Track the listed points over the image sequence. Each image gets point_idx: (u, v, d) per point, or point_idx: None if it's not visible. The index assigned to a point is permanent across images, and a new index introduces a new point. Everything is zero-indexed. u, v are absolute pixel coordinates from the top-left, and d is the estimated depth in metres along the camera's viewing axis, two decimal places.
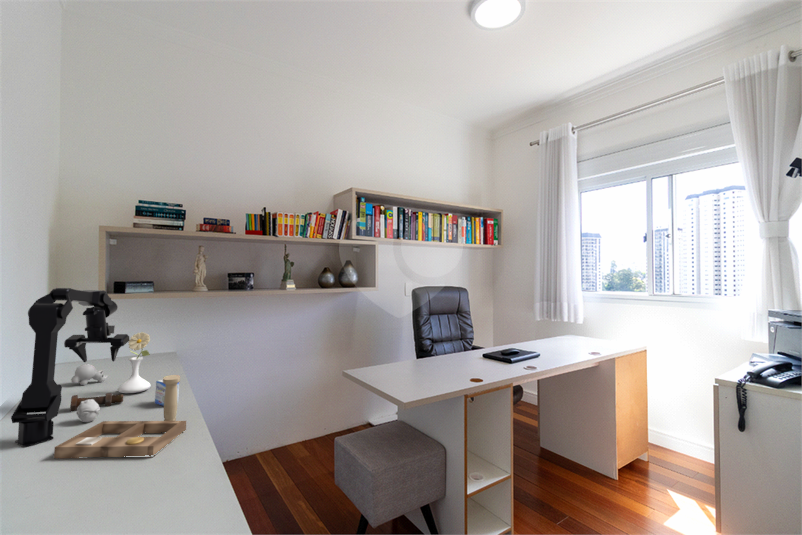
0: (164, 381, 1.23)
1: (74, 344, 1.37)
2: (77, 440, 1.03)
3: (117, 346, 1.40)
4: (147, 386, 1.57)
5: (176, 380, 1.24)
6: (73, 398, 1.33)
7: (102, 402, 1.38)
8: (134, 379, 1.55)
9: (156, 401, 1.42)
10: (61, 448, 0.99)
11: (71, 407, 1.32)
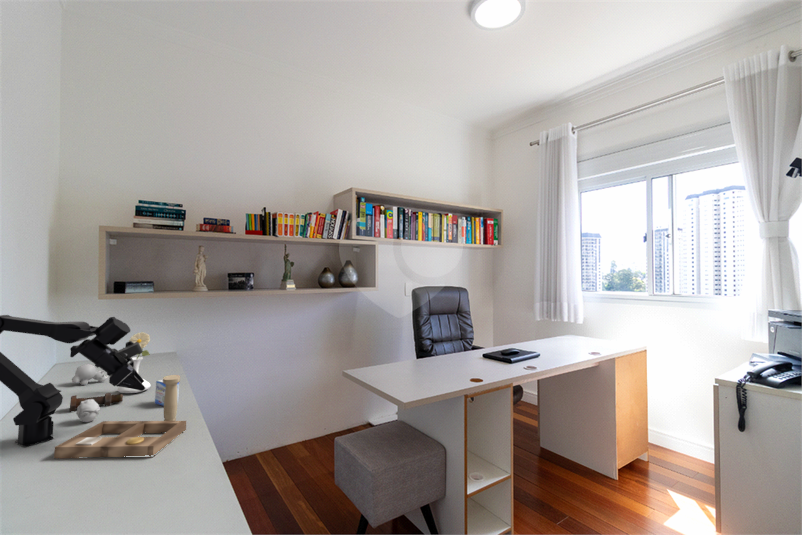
0: (164, 381, 1.23)
1: None
2: (77, 440, 1.03)
3: None
4: (147, 386, 1.57)
5: (176, 380, 1.24)
6: (72, 398, 1.33)
7: (102, 402, 1.38)
8: None
9: (156, 401, 1.42)
10: (61, 448, 0.99)
11: (71, 407, 1.32)
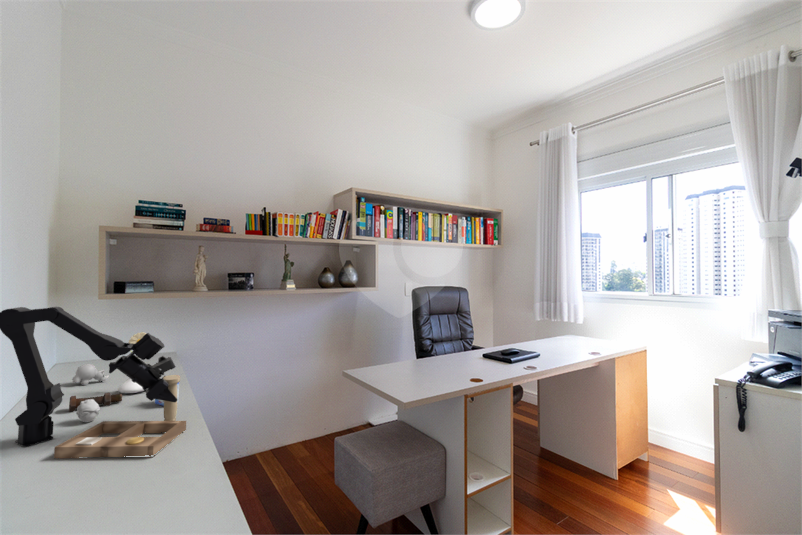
0: None
1: None
2: (77, 440, 1.03)
3: (151, 399, 1.15)
4: None
5: (176, 380, 1.24)
6: (72, 398, 1.32)
7: (101, 402, 1.38)
8: None
9: (156, 401, 1.42)
10: (61, 448, 0.99)
11: (71, 408, 1.31)
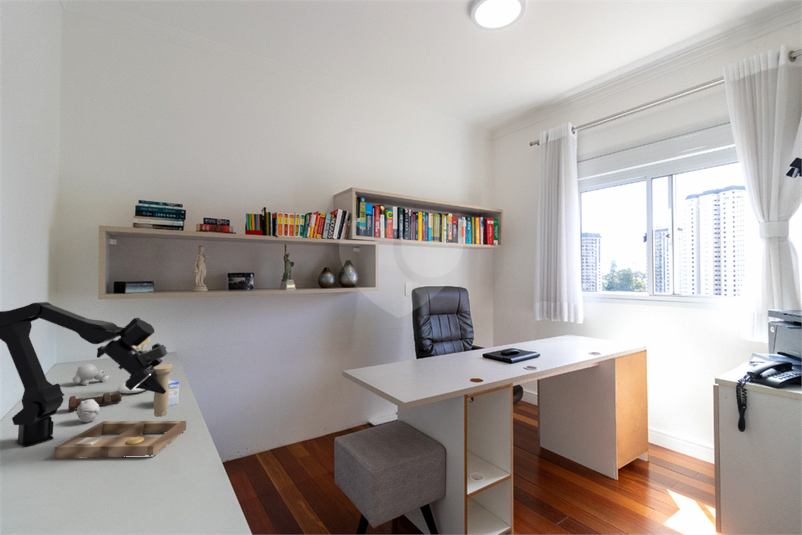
0: (153, 370, 1.14)
1: None
2: (77, 440, 1.03)
3: None
4: None
5: (164, 370, 1.14)
6: (72, 398, 1.32)
7: (101, 402, 1.38)
8: None
9: None
10: (61, 448, 0.99)
11: (70, 408, 1.31)
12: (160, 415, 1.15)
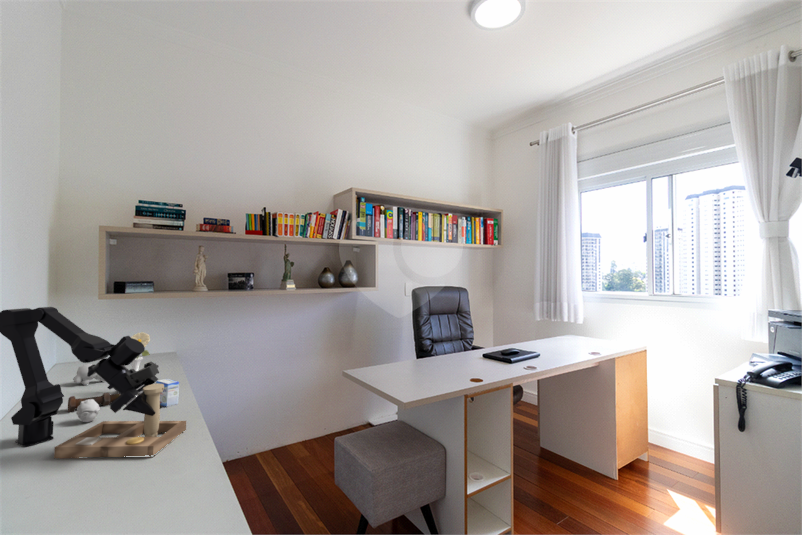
0: (143, 390, 1.10)
1: None
2: (77, 440, 1.03)
3: None
4: None
5: (153, 391, 1.09)
6: (71, 399, 1.32)
7: (101, 402, 1.38)
8: None
9: None
10: (61, 448, 0.99)
11: (70, 408, 1.31)
12: None
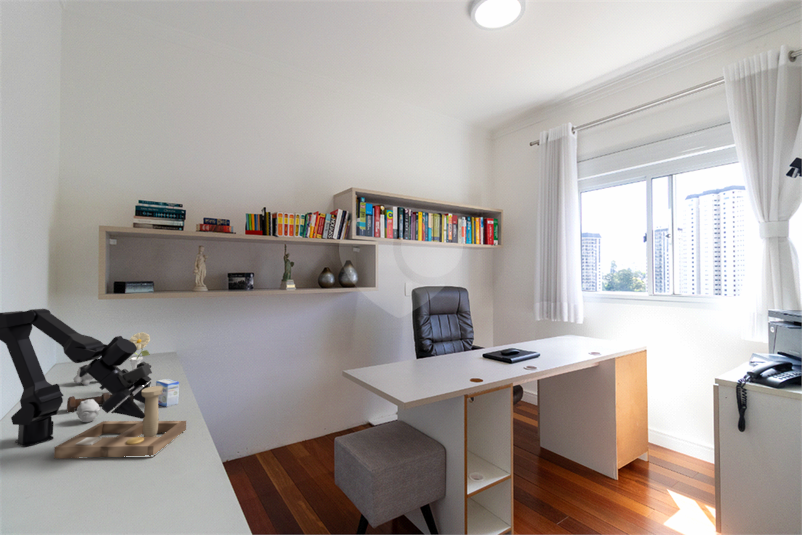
0: None
1: None
2: (77, 440, 1.03)
3: None
4: None
5: (152, 393, 1.09)
6: (71, 399, 1.32)
7: (100, 402, 1.38)
8: None
9: None
10: (61, 448, 0.99)
11: (70, 408, 1.31)
12: None
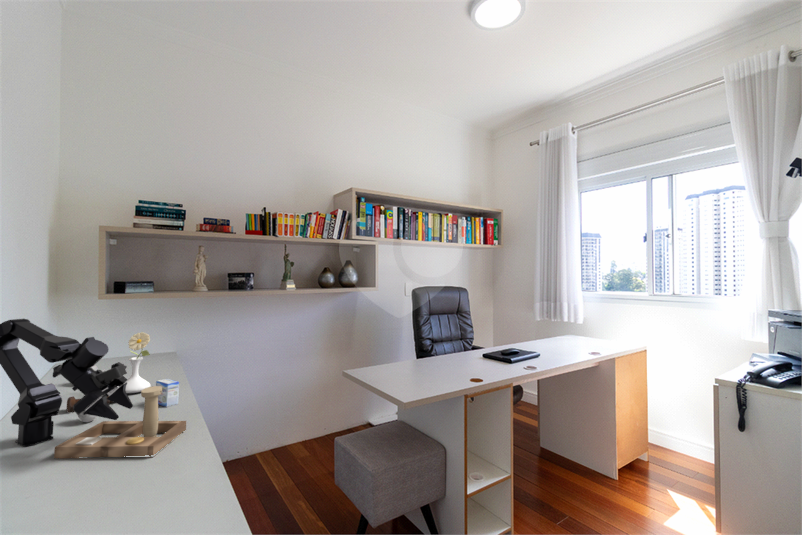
0: (141, 393, 1.10)
1: None
2: (77, 440, 1.03)
3: None
4: (147, 386, 1.57)
5: (152, 393, 1.09)
6: (71, 399, 1.32)
7: None
8: (134, 379, 1.55)
9: None
10: (61, 448, 0.99)
11: (70, 408, 1.31)
12: None
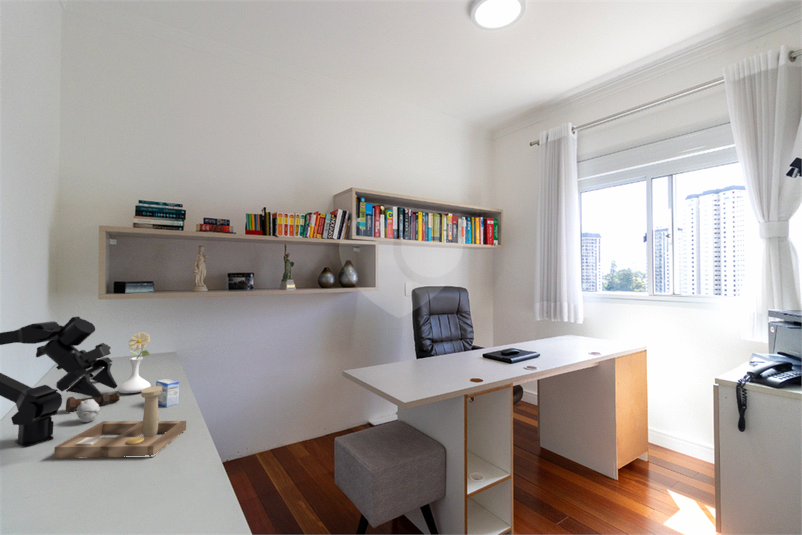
0: (141, 393, 1.10)
1: None
2: (77, 440, 1.03)
3: None
4: (147, 386, 1.57)
5: (152, 393, 1.09)
6: (71, 399, 1.32)
7: (100, 402, 1.38)
8: (134, 379, 1.55)
9: None
10: (61, 448, 0.99)
11: (70, 408, 1.31)
12: None
